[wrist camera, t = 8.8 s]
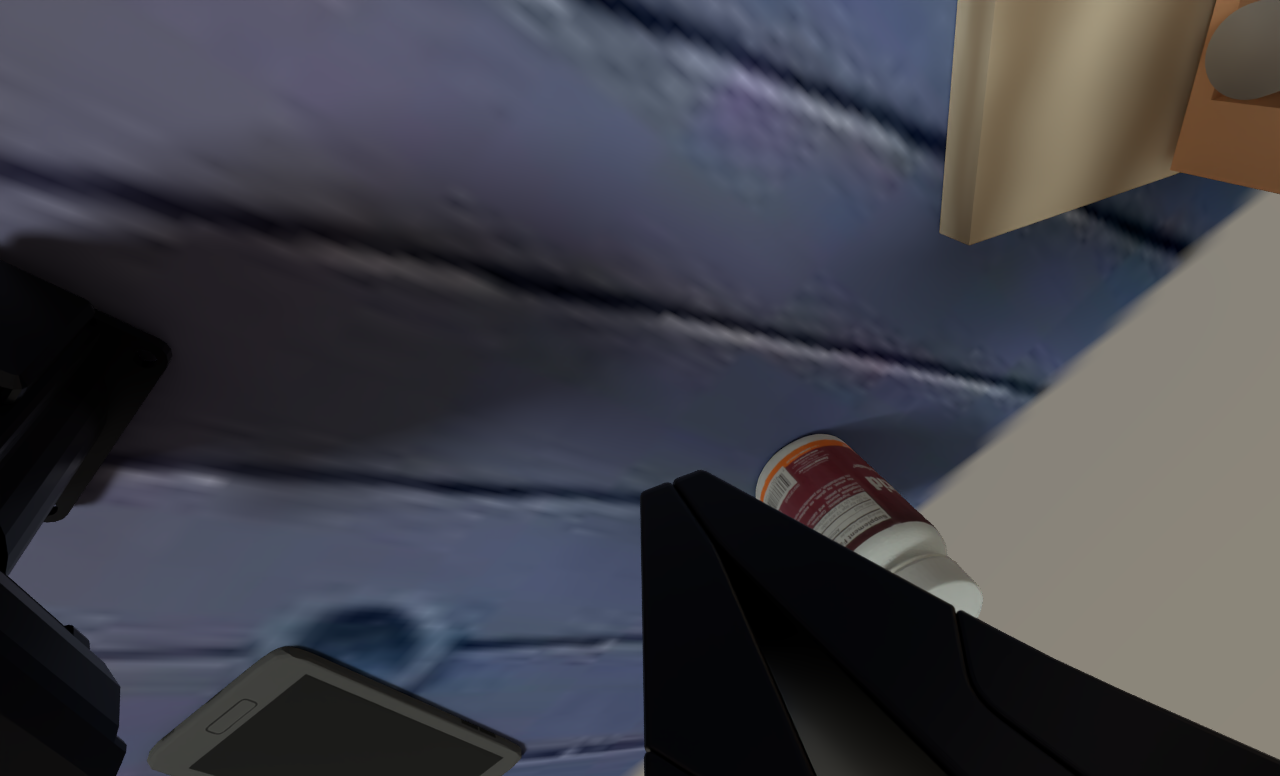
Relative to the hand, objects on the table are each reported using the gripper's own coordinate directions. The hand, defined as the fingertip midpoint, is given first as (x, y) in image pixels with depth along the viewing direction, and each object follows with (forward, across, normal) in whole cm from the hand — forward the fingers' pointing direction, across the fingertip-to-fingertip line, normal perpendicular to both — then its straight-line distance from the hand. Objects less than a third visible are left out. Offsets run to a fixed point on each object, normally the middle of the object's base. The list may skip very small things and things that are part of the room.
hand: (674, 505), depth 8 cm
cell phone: (+14, +13, +20) cm, 28 cm away
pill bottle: (+13, -9, +14) cm, 21 cm away
